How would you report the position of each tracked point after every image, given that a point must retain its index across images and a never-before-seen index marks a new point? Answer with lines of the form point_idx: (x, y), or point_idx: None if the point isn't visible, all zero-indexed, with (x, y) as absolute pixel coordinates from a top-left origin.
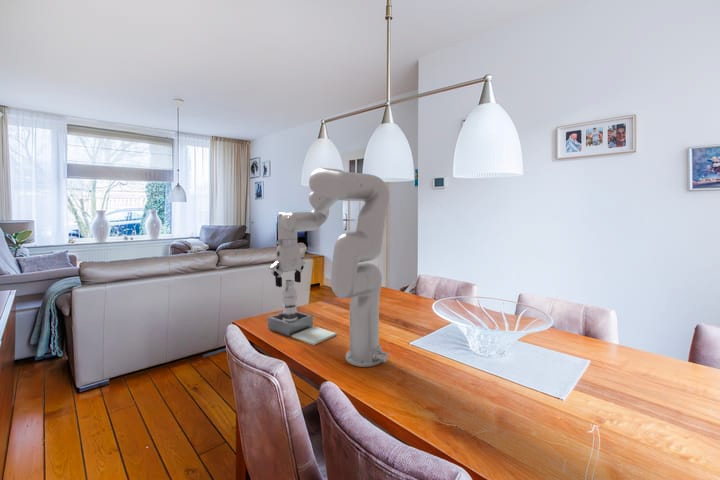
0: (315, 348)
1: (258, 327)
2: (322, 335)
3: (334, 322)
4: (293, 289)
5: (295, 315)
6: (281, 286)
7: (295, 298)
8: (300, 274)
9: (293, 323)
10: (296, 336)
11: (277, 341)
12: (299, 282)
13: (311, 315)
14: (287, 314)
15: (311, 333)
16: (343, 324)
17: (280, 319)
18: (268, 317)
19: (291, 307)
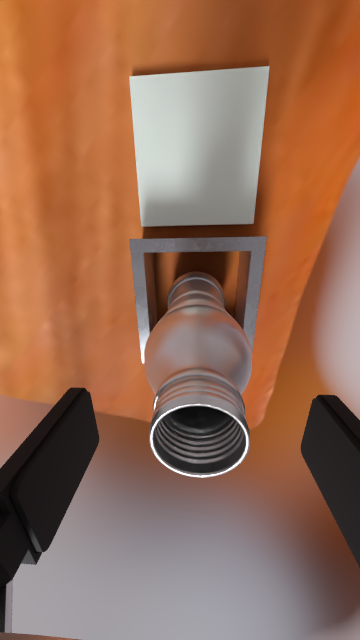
0: (288, 31)
1: None
2: (185, 110)
3: (53, 211)
4: (192, 340)
5: (191, 282)
6: (327, 395)
7: (187, 303)
8: (4, 467)
9: (239, 237)
10: (252, 198)
11: (304, 235)
12: (85, 389)
13: (131, 245)
14: (221, 301)
15: (198, 172)
16: (38, 161)
17: None
18: None
19: (211, 297)
